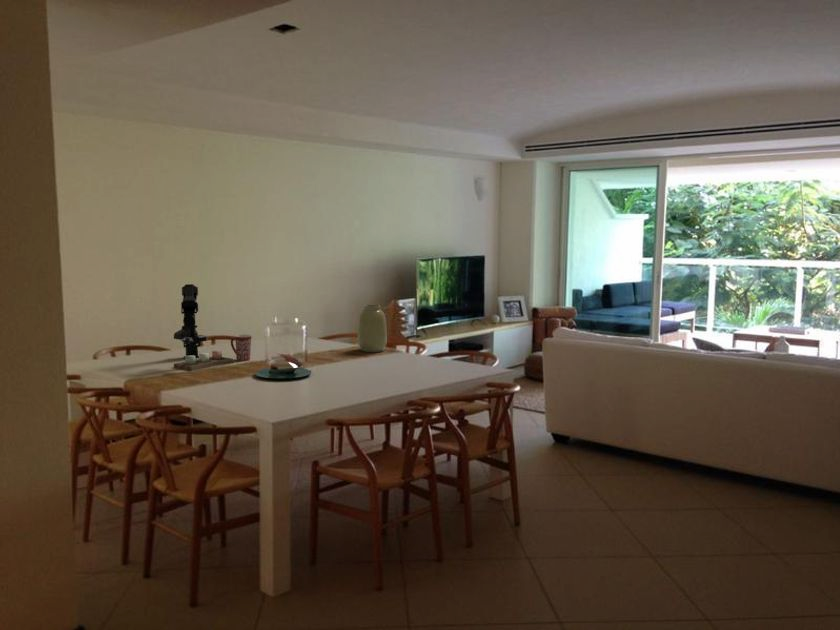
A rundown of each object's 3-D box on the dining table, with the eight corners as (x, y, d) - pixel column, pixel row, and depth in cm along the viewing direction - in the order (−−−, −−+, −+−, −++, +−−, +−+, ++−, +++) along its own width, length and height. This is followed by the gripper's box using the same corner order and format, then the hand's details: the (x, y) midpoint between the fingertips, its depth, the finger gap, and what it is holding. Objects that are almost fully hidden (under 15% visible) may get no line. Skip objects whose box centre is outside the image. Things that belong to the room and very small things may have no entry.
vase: (385, 353, 433) (386, 307, 430) (356, 352, 433) (356, 307, 430) (387, 348, 450) (387, 304, 447) (359, 347, 451) (359, 303, 447)
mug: (255, 359, 407) (255, 335, 406) (244, 361, 399) (244, 337, 398) (237, 357, 413) (237, 333, 411) (226, 359, 405) (226, 335, 403)
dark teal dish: (312, 381, 354) (312, 358, 353) (252, 382, 350) (252, 359, 348) (311, 369, 382) (311, 348, 380) (256, 370, 377) (255, 349, 376)
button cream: (197, 361, 388) (197, 353, 388) (204, 359, 392) (204, 352, 392) (203, 362, 386) (203, 354, 385) (211, 361, 390) (210, 353, 389)
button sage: (183, 363, 381) (183, 356, 380) (191, 362, 385) (190, 355, 384) (190, 365, 378) (189, 357, 378) (197, 363, 382) (197, 356, 382)
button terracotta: (210, 358, 396) (210, 351, 395) (217, 357, 400) (217, 350, 400) (216, 359, 393) (216, 352, 393) (223, 358, 397) (223, 351, 397)
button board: (173, 367, 381) (173, 363, 381) (215, 359, 405) (215, 355, 405) (192, 370, 374) (192, 366, 374) (233, 362, 397) (233, 358, 397)
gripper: (164, 323, 377) (165, 353, 379) (189, 327, 367) (190, 357, 369) (182, 321, 387) (183, 350, 388) (206, 324, 377) (207, 354, 379)
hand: (190, 353), depth 381 cm, fingers closed
